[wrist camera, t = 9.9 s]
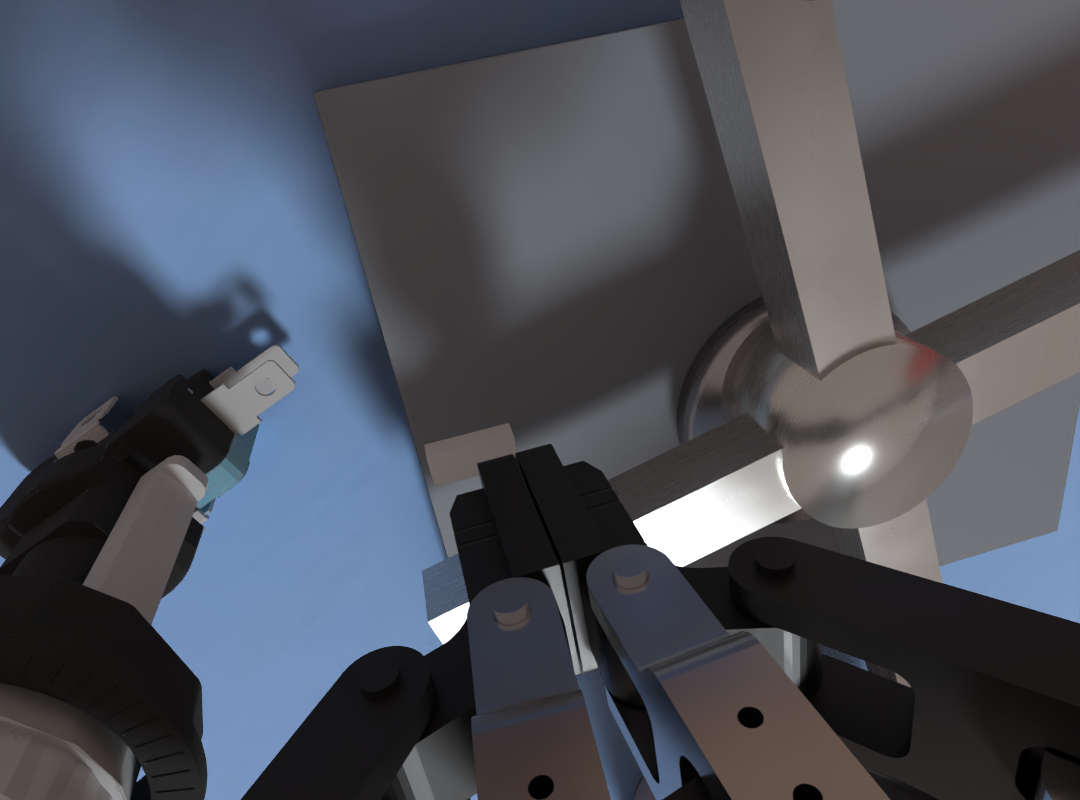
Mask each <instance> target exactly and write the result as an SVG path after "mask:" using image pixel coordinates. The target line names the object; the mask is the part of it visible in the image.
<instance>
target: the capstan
mask: <svg viewBox="0 0 1080 800" xmlns="http://www.w3.org/2000/svg"><path fill="white" fill-rule="evenodd" d="M680 4H681V8H682V11H683V15H684V18H685V22H686V25H687V29H688V32H689V36H690V40H691V43H692V47H693V50H694V54H695V57H696V61H697V64H698V68H699V72H700V75H701V79H702V82H703V86H704V89H705V93H706V96H707V100H708V104H709V107H710V111H711V114H712V118H713V121H714V125H715V128H716V132H717V136H718V139H719V143H720V146H721V150H722V153H723V157H724V160H725V164H726V168H727V171H728V175H729V178H730V182H731V185H732V189H733V192H734V196H735V200H736V203H737V207H738V210H739V214H740V217H741V221H742V224H743V228H744V232H745V235H746V239H747V242H748V246H749V249H750V253H751V256H752V260H753V264H754V267H755V271H756V274H757V278H758V281H759V285H760V288H761V292H762V297H760V298H758V299H756V300H754V301H752V302H751V303H749V304H747V305H745V306H744V307H742V308H741V309H740V310H738V311H737V312H736V313H734V314H733V315H731V316H730V317H729V318H728V319H727V320H726V321H725V322H724V323H722V324H721V325H720V326H719V327H718V328H717V329H716V330H715V332H714V333H713V334H712V335H711V336H710V337H709V338H708V339H707V341H706V342H705V343H704V345H703V346H702V348H701V349H700V350H699V352H698V353H697V355H696V357H695V359H694V360H693V362H692V364H691V366H690V368H689V370H688V372H687V375H686V377H685V380H684V382H683V385H682V389H681V392H680V396H679V402H678V408H677V431H678V439H679V443H680V445H679V446H677V447H675V448H673V449H671V450H669V451H667V452H665V453H662V454H660V455H658V456H656V457H654V458H652V459H650V460H648V461H646V462H644V463H642V464H640V465H638V466H636V467H634V468H632V469H630V470H628V471H626V472H624V473H622V474H619V475H617V476H615V477H613V478H611V479H609V480H608V482H609V483H610V485H611V487H612V490H614V492H615V493H616V495H617V496H618V498H619V501H620V502H621V503H622V505H623V506H624V508H625V509H626V511H627V513H628V514H629V516H630V518H631V519H632V521H633V522H634V524H635V526H636V527H637V529H638V531H639V532H640V534H641V535H642V537H643V539H644V540H645V542H646V544H647V545H648V546H649V547H652V548H655V549H657V550H659V551H661V552H663V553H664V554H666V555H667V556H668V557H669V559H670V560H671V561H672V562H673V564H674V565H677V566H682V567H683V566H685V565H687V564H689V563H691V562H693V561H695V560H697V559H699V558H702V557H704V556H706V555H708V554H710V553H712V552H714V551H716V550H718V549H720V548H722V547H724V546H726V545H728V544H730V543H732V542H734V541H736V540H738V539H740V538H742V537H744V536H746V535H748V534H750V533H753V532H755V531H757V530H759V529H761V528H763V527H765V526H767V525H769V524H771V523H792V522H798V521H803V520H808V519H811V518H814V519H816V520H818V521H819V522H821V523H823V524H826V525H827V527H828V530H829V534H830V537H831V541H832V544H833V548H834V552H837V553H841V554H844V555H848V556H851V557H854V558H858V559H861V560H865V561H868V562H872V563H875V564H878V565H882V566H885V567H889V568H892V569H895V570H899V571H902V572H906V573H909V574H912V575H916V576H919V577H923V578H926V579H930V580H933V581H936V582H940V583H942V578H941V573H940V568H939V562H938V557H937V552H936V547H935V541H934V536H933V531H932V526H931V520H930V515H929V510H928V505H927V500H926V498H927V497H928V496H930V495H931V494H932V493H933V492H934V491H935V490H936V489H937V488H938V487H939V486H940V485H941V483H942V482H943V481H944V480H945V479H946V478H947V476H948V475H949V474H950V472H951V471H952V469H953V468H954V467H955V465H956V463H957V462H958V460H959V458H960V456H961V454H962V452H963V450H964V448H965V446H966V443H967V440H968V437H969V434H970V430H971V425H973V424H975V423H977V422H979V421H981V420H983V419H985V418H987V417H989V416H991V415H993V414H995V413H997V412H999V411H1001V410H1003V409H1005V408H1008V407H1010V406H1012V405H1014V404H1016V403H1018V402H1020V401H1022V400H1024V399H1026V398H1028V397H1030V396H1032V395H1034V394H1036V393H1038V392H1040V391H1042V390H1044V389H1046V388H1048V387H1050V386H1052V385H1054V384H1056V383H1059V382H1061V381H1063V380H1065V379H1067V378H1069V377H1071V376H1073V375H1075V374H1077V373H1079V372H1080V250H1078V251H1076V252H1074V253H1072V254H1070V255H1068V256H1066V257H1064V258H1062V259H1060V260H1058V261H1056V262H1054V263H1052V264H1050V265H1048V266H1046V267H1044V268H1042V269H1040V270H1038V271H1035V272H1033V273H1031V274H1029V275H1027V276H1025V277H1023V278H1021V279H1019V280H1017V281H1015V282H1013V283H1011V284H1009V285H1007V286H1005V287H1003V288H1001V289H999V290H997V291H994V292H992V293H990V294H988V295H986V296H984V297H982V298H980V299H978V300H976V301H974V302H972V303H970V304H968V305H966V306H964V307H962V308H960V309H958V310H956V311H953V312H951V313H949V314H947V315H945V316H943V317H941V318H939V319H937V320H935V321H933V322H931V323H929V324H927V325H925V326H923V327H921V328H919V329H917V330H915V331H912V332H910V330H909V329H908V327H907V326H906V325H905V324H904V323H903V322H902V321H901V320H900V319H899V317H897V316H896V315H895V314H893V313H892V312H891V311H890V305H889V300H888V295H887V290H886V284H885V279H884V274H883V269H882V263H881V258H880V253H879V248H878V242H877V237H876V232H875V227H874V222H873V216H872V211H871V206H870V201H869V195H868V190H867V185H866V180H865V174H864V169H863V164H862V159H861V153H860V148H859V143H858V138H857V132H856V127H855V122H854V117H853V111H852V106H851V101H850V96H849V90H848V85H847V80H846V75H845V69H844V64H843V59H842V54H841V48H840V43H839V38H838V33H837V27H836V22H835V17H834V12H833V6H832V1H831V0H680ZM422 573H423V582H424V591H425V600H426V609H427V618H428V623H429V624H430V626H431V627H432V629H433V630H434V632H435V633H436V634H437V636H438V637H439V639H440V640H441V642H442V643H443V644H445V643H446V642H447V641H449V640H450V639H451V638H452V637H453V636H454V635H455V634H456V633H457V632H458V631H459V630H460V629H461V627H462V626H463V624H464V622H465V620H466V618H467V611H468V608H469V599H468V595H467V590H466V586H465V581H464V577H463V572H462V568H461V563H460V559H459V554H456V555H453V556H451V557H449V558H447V559H445V560H443V561H441V562H439V563H437V564H435V565H433V566H431V567H429V568H427V569H425V570H423V571H422ZM865 662H866V665H867V669H868V671H869V672H871V673H874V674H877V675H879V676H882V677H884V678H887V679H890V680H892V681H895V682H898V683H900V684H903V685H905V686H908V687H911V686H910V685H909V683H908V682H907V681H906V680H905V679H903V678H902V677H901V676H900V675H898V674H897V673H895V672H893V671H891V670H889V669H886V668H883V667H881V666H878V665H875V664H873V663H870V662H867V661H865ZM911 688H912V687H911Z"/></svg>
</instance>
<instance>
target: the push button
mask: <svg viewBox="0 0 1080 800" xmlns="http://www.w3.org/2000/svg"><path fill="white" fill-rule="evenodd" d="M298 371H299V366H298V365H297V364H296V363H295V362H294V360H293V359H292V358H291V357H290V356H289V355H288V354H287V353H286V352H285V351H284V350H283V349H282V348H281V347H280V345H274V344H273V345H272V346H270V347H269V348H268V349H266V350H265V351H264V352H262V353H261V354H259V355H258V356H257V357H255V358H254V359H253V360H251V361H250V362H248V363H247V364H246V365H244V366H243V367H241V368H240V369H239V370H237V371H235V370H234V369H233V368H232V367H229V368H228V369H227V370H225V371H224V372H222V373H221V374H220V375H218V376H217V377H215V378H214V379H213V378H212V377H211V376H210V375H209V374H208V373H207V372H206V371H205V370H201V371H199V372H198V373H196V374H195V375H193V376H192V377H191V378H189V379H188V380H186V379H185V378H184V377H183V376H182V375H178V376H176V377H174V378H172V379H171V380H170V381H168V382H167V383H166V384H164V385H163V386H161V387H160V388H159V389H158V390H157V391H155V392H154V393H153V394H152V395H151V396H150V397H149V398H148V399H147V400H146V401H145V402H144V403H143V404H142V405H141V406H140V407H139V408H138V409H137V410H136V412H135V413H134V414H133V415H132V416H131V417H130V418H129V419H128V420H127V421H126V422H125V423H124V424H123V425H122V426H121V427H120V428H118V429H117V430H116V431H115V432H113V433H112V434H111V433H110V432H108V431H107V430H106V429H105V428H104V427H103V426H102V425H101V423H100V421H102V420H103V419H104V418H105V417H106V415H107V414H108V413H109V411H110V410H111V409H112V407H113V406H114V405H115V403H116V402H117V400H118V399H119V398H118V397H117V396H114V397H112V398H111V399H109V400H108V401H106V402H105V403H104V404H102V405H101V406H100V407H98V408H97V409H96V410H94V411H93V412H91V413H90V414H89V415H87V416H86V417H85V418H84V419H83V420H81V421H80V422H79V423H78V424H77V425H76V426H75V427H74V429H73V430H72V431H71V432H70V434H69V435H68V436H67V438H66V439H65V440H64V441H63V443H62V444H61V445H60V448H59V449H58V450H56V451H55V453H54V454H55V455H54V456H52V457H51V458H49V459H48V460H47V461H45V462H44V463H42V464H41V465H40V466H38V467H37V468H36V469H35V470H33V471H32V472H31V473H30V474H29V475H28V476H27V477H26V478H25V479H24V480H23V481H22V482H21V483H20V485H19V486H18V487H17V488H16V490H15V491H14V492H13V493H12V494H11V496H10V497H9V498H8V499H7V501H6V502H5V503H4V504H3V505H2V507H1V508H0V556H1V557H3V558H4V559H6V560H5V562H4V563H3V564H2V566H1V567H0V800H204V798H205V793H206V786H207V765H206V757H205V753H204V749H203V745H202V742H201V739H202V735H203V715H202V686H201V684H200V681H199V679H198V678H197V677H196V676H195V675H194V673H193V672H192V671H191V670H190V669H189V668H188V667H187V666H186V664H185V663H184V662H183V661H182V660H181V659H180V658H179V656H178V655H177V654H176V653H175V652H174V651H173V650H172V649H171V647H170V646H169V645H168V644H167V643H166V642H165V641H164V639H163V638H162V637H161V636H160V635H159V634H158V633H157V632H156V630H155V629H154V628H153V627H152V626H151V625H152V621H153V619H154V616H155V613H156V611H157V608H158V605H159V603H160V600H161V598H163V597H164V596H166V595H167V594H168V593H170V592H171V591H172V590H173V589H174V588H175V587H176V586H177V585H178V584H179V583H180V582H181V581H182V580H183V578H184V577H185V575H186V573H187V572H188V570H189V568H190V566H191V563H192V561H193V558H194V555H195V552H196V549H197V547H198V544H199V541H200V538H201V535H202V532H203V531H204V530H205V527H204V526H203V525H201V524H202V523H203V522H205V521H206V520H207V519H209V516H208V514H209V513H210V512H211V511H212V508H213V505H214V502H215V499H216V497H218V498H219V497H220V496H221V495H223V494H224V493H226V492H227V491H228V490H230V489H231V488H232V487H234V486H235V485H236V484H237V483H238V482H239V481H240V480H241V479H242V478H243V477H244V476H245V474H246V472H247V470H248V467H249V463H250V462H249V458H250V455H251V452H252V448H253V445H254V441H255V438H256V434H257V431H258V428H259V423H260V422H261V421H262V420H261V419H260V418H259V417H258V415H259V414H261V413H262V412H263V411H265V410H266V409H268V408H269V407H270V406H272V405H273V404H275V403H276V402H277V401H279V400H280V399H282V398H283V397H284V396H286V395H287V394H289V393H290V392H291V391H293V390H294V389H295V382H294V381H293V379H292V378H291V377H293V376H294V375H296V374H297V373H298ZM273 390H275V391H274V392H273V393H271V394H269V393H270V392H272V391H273ZM268 394H269V395H268ZM141 766H142V768H143V770H144V772H145V774H146V775H145V776H144V777H143V778H142V779H140V780H139V781H138V782H136V781H137V777H138V774H139V771H140V768H141Z"/></svg>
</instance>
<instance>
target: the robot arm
mask: <svg viewBox="0 0 1080 800" xmlns="http://www.w3.org/2000/svg"><path fill="white" fill-rule="evenodd" d="M477 467H478V472H479V476H480V480H481V484H482V489H478V490H474V491H471V492H467V493H463V494H460V495H457V496H456V498H455V501H454V503H453V506H452V508H451V511H450V513H449V514H450V518H451V523H452V527H453V532H454V536H455V541H456V545H457V550H458V554H459V559H460V563H461V568H462V572H463V577H464V581H465V586H466V590H467V595H468V599H469V608H468V611H467V618H466V620H465V622H464V624H463V626H462V627H461V629H460V630H459V631H458V632H457V633H456V634H455V635H454V636H453V637H452V638H451V639H450V640H449V641H447V642H446V643H445V644H443V645H442V646H440V647H439V648H437V649H435V650H433V651H432V652H430V653H428V654H427V655H425V656H423V655H422V654H421V653H420V652H418V651H417V650H415V649H412V648H409V647H404V646H390V647H384V648H380V649H377V650H374V651H372V652H370V653H368V654H366V655H364V656H362V657H360V658H359V659H358V660H356V661H355V662H354V663H352V664H351V665H350V666H349V667H348V668H347V669H346V670H345V671H344V672H343V673H342V675H341V676H340V677H339V678H338V680H337V681H336V682H335V683H334V685H333V686H332V687H331V688H330V690H329V691H328V692H327V693H326V695H325V696H324V697H323V698H322V700H321V701H320V702H319V703H318V704H317V706H316V707H315V708H314V709H313V711H312V712H311V713H310V714H309V716H308V717H307V718H306V719H305V721H304V722H303V723H302V724H301V726H300V727H299V728H298V729H297V731H296V732H295V733H294V734H293V735H292V737H291V738H290V739H289V740H288V742H287V743H286V744H285V745H284V747H283V748H282V749H281V750H280V752H279V753H278V754H277V755H276V757H275V758H274V759H273V760H272V762H271V763H270V764H269V765H268V766H267V768H266V769H265V770H264V771H263V773H262V774H261V775H260V776H259V778H258V779H257V780H256V781H255V783H254V784H253V785H252V786H251V788H250V789H249V790H248V791H247V792H246V794H245V795H244V796H243V797H242V799H241V800H470V797H472V796H473V795H474V794H476V793H477V795H478V800H611V799H610V795H609V791H608V787H607V784H606V780H605V776H604V772H603V769H602V765H601V761H600V757H599V754H598V750H597V746H596V742H595V739H594V735H593V731H592V727H591V724H590V720H589V716H588V712H587V708H586V705H585V701H584V698H583V694H582V691H581V689H579V686H578V683H577V679H576V674H579V673H580V668H579V663H578V659H579V661H580V664H581V666H582V669H583V672H585V671H588V670H591V669H595V668H599V670H600V673H601V675H602V678H603V680H604V683H605V689H606V695H607V700H608V705H609V708H610V710H611V712H612V714H613V716H614V718H615V720H616V722H617V724H618V726H619V728H620V730H621V732H622V734H623V736H624V738H625V740H626V742H627V744H628V746H629V748H630V750H631V752H632V754H633V756H634V757H635V759H636V761H637V763H638V765H639V767H640V769H641V771H642V773H643V775H644V777H645V779H646V781H647V783H648V785H649V787H650V789H651V791H652V793H653V795H654V797H655V799H656V800H1080V623H1076V622H1073V621H1070V620H1066V619H1063V618H1059V617H1056V616H1052V615H1049V614H1046V613H1042V612H1039V611H1035V610H1032V609H1029V608H1025V607H1022V606H1018V605H1015V604H1011V603H1008V602H1005V601H1001V600H998V599H994V598H991V597H988V596H984V595H981V594H977V593H974V592H971V591H967V590H964V589H960V588H957V587H953V586H950V585H947V584H943V583H940V582H936V581H933V580H930V579H926V578H923V577H919V576H916V575H912V574H909V573H906V572H902V571H899V570H895V569H892V568H889V567H885V566H882V565H878V564H875V563H872V562H868V561H865V560H861V559H858V558H854V557H851V556H848V555H844V554H841V553H837V552H834V551H831V550H827V549H824V548H820V547H817V546H813V545H810V544H807V543H803V542H800V541H796V540H793V539H789V538H784V537H761V538H756V539H752V540H749V541H747V542H745V543H743V544H741V545H740V546H738V547H737V548H736V549H735V550H734V551H733V552H732V554H731V556H730V558H729V561H728V567H712V568H688V567H682V566H677V565H674V564H673V562H672V561H671V560H670V559H669V557H668V556H667V555H666V554H664V553H663V552H661V551H659V550H657V549H655V548H652V547H649V546H648V545H647V544H646V542H645V540H644V539H643V537H642V535H641V534H640V532H639V531H638V529H637V527H636V526H635V524H634V522H633V521H632V519H631V518H630V516H629V514H628V513H627V511H626V509H625V508H624V506H623V505H622V503H621V502H620V501H619V498H618V496H617V495H616V493H615V492H614V490H612V487H611V485H610V483H609V482H608V480H607V479H606V477H605V475H604V474H603V472H602V471H601V470H599V469H597V468H596V467H594V466H592V465H590V464H589V463H587V462H585V461H580V462H577V463H573V464H569V465H566V466H563V465H562V463H561V461H560V459H559V457H558V455H557V453H556V451H555V449H554V448H553V446H552V444H547V445H543V446H539V447H535V448H532V449H528V450H524V451H520V452H517V453H515V457H514V455H513V454H510V455H506V456H502V457H498V458H495V459H491V460H487V461H483V462H480V463H477ZM823 645H824V646H827V647H830V648H832V649H835V650H838V651H841V652H843V653H846V654H849V655H851V656H854V657H857V658H859V659H862V660H865V661H867V662H870V663H873V664H875V665H878V666H881V667H883V668H886V669H889V670H891V671H893V672H895V673H897V674H898V675H900V676H901V677H902V678H903V679H905V680H906V681H907V682H908V683H909V685H910V686H911V687H912V688H911V687H908V686H905V685H903V684H900V683H898V682H895V681H892V680H890V679H887V678H884V677H882V676H879V675H877V674H874V673H871V672H869V671H866V670H863V669H861V668H858V667H855V666H853V665H850V664H848V663H845V662H842V661H840V660H837V659H834V658H832V657H829V656H827V655H824V654H822V653H823ZM577 656H578V658H577Z"/></svg>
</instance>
